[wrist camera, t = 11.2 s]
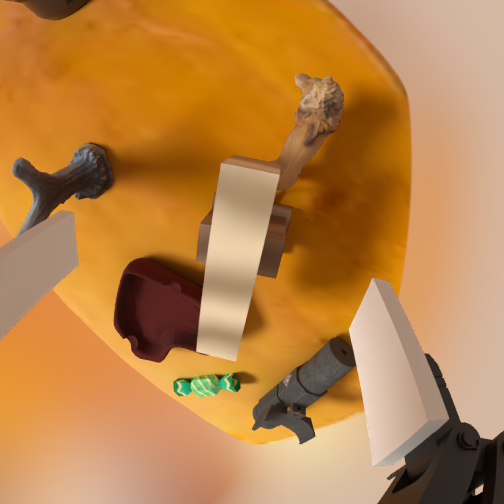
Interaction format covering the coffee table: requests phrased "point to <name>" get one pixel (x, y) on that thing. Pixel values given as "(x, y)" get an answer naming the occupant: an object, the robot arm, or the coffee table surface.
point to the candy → (206, 385)
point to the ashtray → (156, 310)
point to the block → (234, 252)
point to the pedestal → (271, 244)
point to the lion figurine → (310, 125)
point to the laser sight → (304, 390)
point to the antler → (64, 182)
